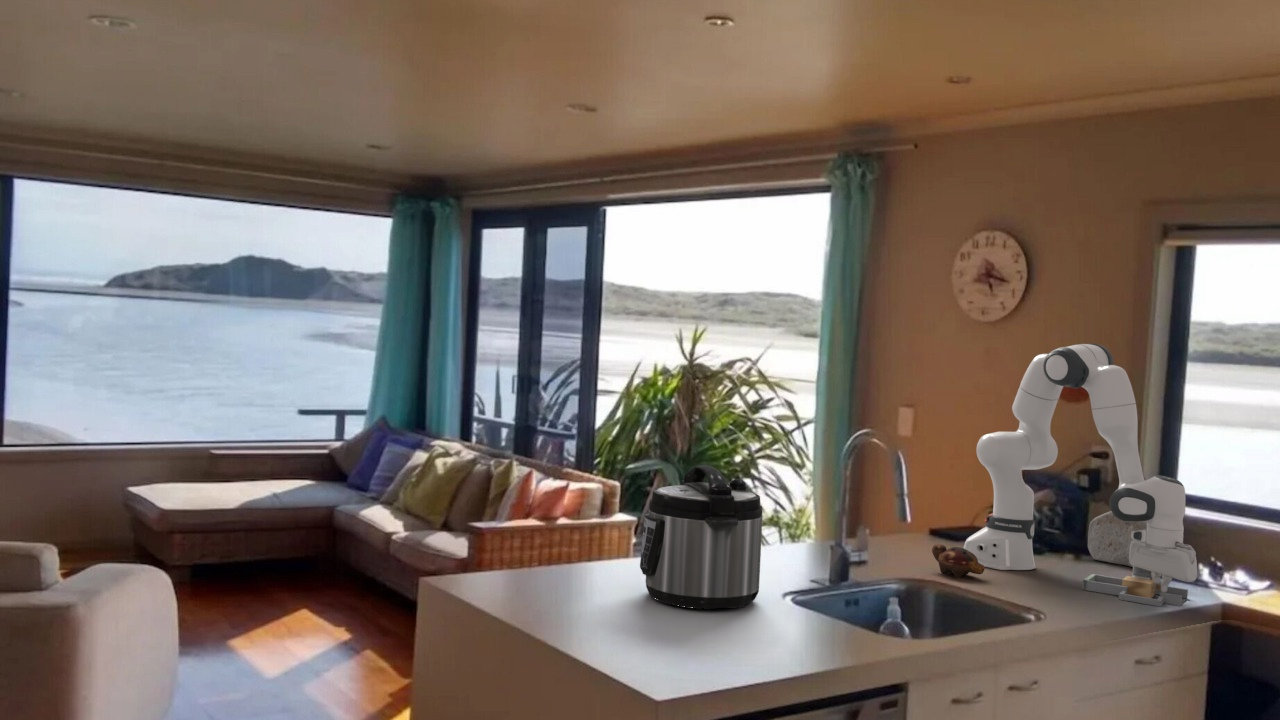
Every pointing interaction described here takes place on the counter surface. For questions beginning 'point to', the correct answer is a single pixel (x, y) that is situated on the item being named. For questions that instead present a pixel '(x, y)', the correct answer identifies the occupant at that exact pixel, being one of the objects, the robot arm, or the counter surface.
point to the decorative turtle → (956, 560)
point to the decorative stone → (1112, 538)
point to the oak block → (1139, 586)
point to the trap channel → (1115, 588)
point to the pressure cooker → (703, 542)
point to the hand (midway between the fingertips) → (1160, 590)
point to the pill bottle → (1141, 573)
